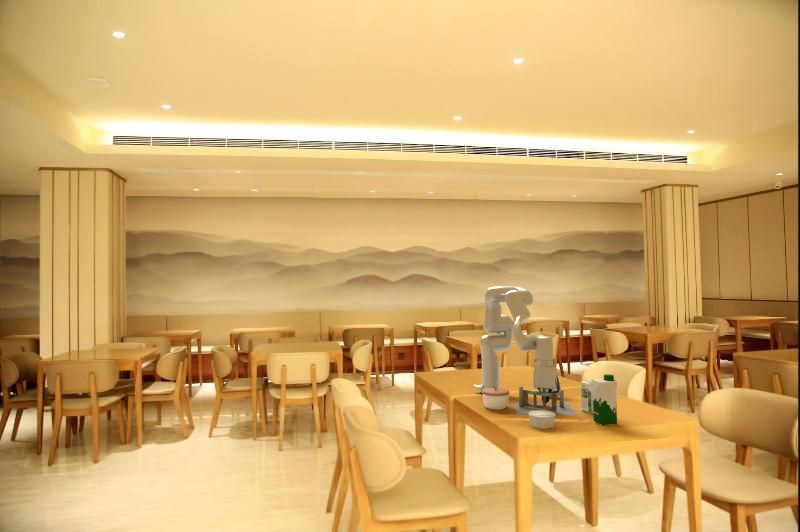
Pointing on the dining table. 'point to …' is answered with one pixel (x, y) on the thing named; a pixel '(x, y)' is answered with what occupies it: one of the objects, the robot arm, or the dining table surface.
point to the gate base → (562, 407)
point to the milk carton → (605, 400)
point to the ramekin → (542, 419)
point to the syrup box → (587, 396)
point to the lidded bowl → (495, 398)
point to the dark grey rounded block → (557, 388)
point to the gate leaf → (544, 394)
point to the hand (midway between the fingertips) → (545, 402)
